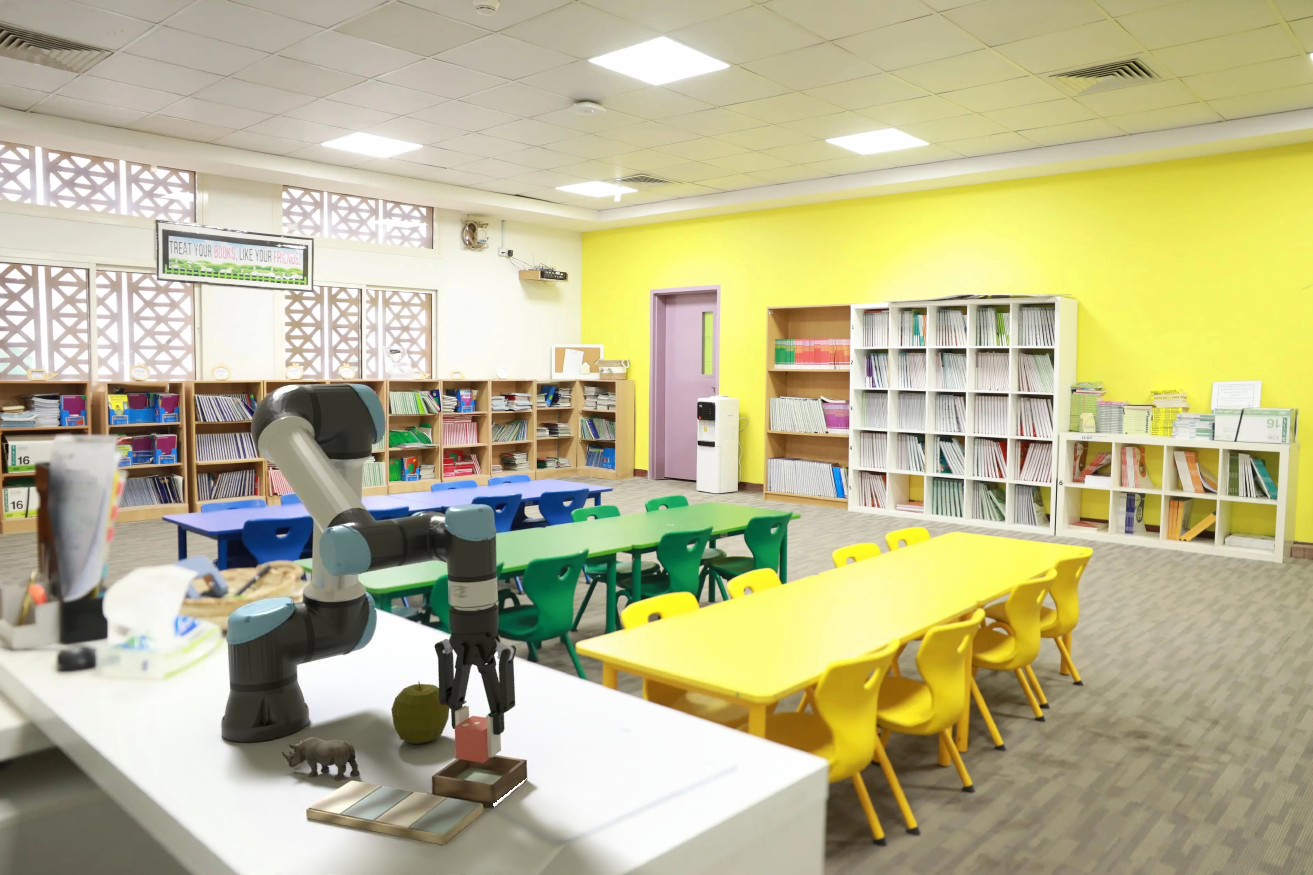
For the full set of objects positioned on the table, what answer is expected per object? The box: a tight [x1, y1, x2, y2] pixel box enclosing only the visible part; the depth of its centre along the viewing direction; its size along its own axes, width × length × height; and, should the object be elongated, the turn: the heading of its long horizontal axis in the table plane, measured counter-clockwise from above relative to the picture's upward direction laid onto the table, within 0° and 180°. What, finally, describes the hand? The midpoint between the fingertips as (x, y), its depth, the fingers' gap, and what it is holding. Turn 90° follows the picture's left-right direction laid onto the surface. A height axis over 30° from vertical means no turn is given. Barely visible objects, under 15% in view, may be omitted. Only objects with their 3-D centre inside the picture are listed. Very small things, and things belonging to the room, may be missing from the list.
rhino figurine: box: [281, 736, 360, 782], centre depth 146 cm, size 4×14×6 cm, turn 75°
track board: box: [305, 780, 484, 846], centre depth 131 cm, size 24×10×1 cm, turn 69°
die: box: [454, 715, 491, 763], centre depth 139 cm, size 5×5×5 cm
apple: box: [391, 681, 450, 745], centre depth 158 cm, size 10×10×11 cm
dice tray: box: [431, 754, 528, 809], centre depth 139 cm, size 11×10×3 cm
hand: (478, 750), depth 139 cm, fingers closed on die, 5 cm apart
